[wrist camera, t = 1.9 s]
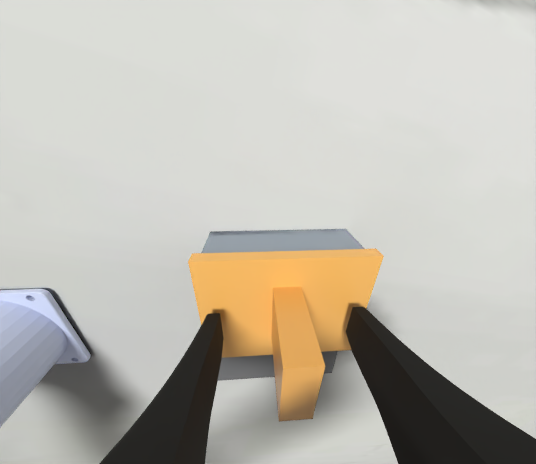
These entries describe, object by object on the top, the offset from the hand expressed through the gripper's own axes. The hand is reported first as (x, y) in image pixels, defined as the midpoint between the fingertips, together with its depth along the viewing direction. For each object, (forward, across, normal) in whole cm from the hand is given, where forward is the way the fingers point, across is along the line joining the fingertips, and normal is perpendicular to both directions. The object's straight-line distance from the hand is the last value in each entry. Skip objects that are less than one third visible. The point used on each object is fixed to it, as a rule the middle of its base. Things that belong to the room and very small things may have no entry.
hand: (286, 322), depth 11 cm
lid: (+2, 0, 0) cm, 2 cm away
